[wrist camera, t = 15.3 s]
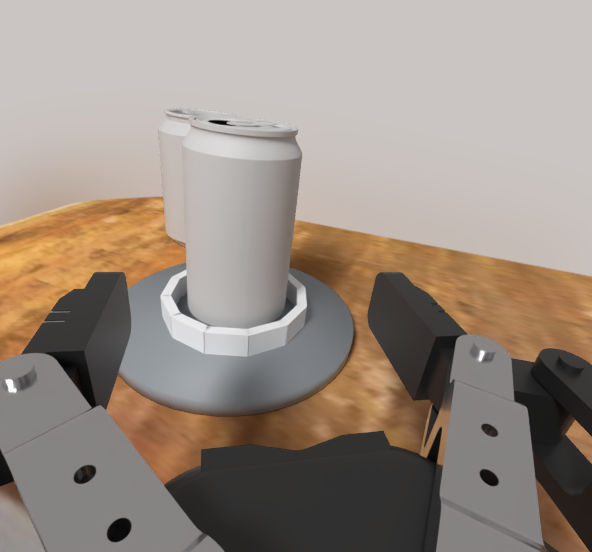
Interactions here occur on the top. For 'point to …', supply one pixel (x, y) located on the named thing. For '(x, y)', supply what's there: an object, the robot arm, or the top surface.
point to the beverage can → (239, 217)
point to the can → (175, 167)
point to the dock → (234, 373)
